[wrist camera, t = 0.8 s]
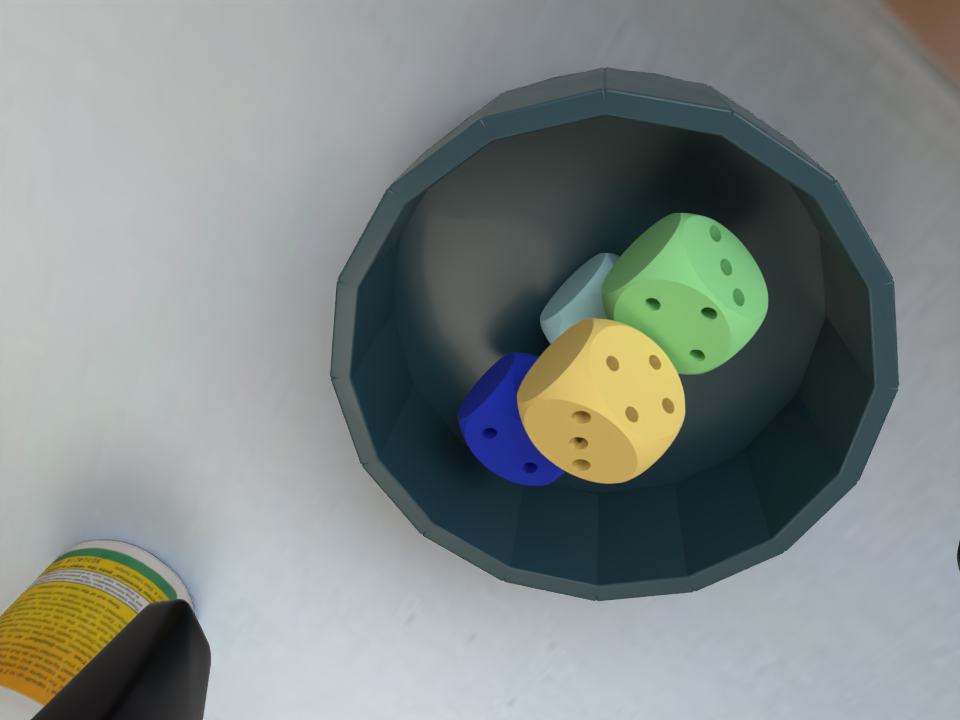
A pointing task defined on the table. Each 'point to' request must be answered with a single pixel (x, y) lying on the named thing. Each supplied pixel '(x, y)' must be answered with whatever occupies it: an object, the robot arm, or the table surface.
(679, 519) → the pan
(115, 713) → the robot arm
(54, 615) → the supplement bottle
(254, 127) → the table surface
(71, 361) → the table surface
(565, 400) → the dice
